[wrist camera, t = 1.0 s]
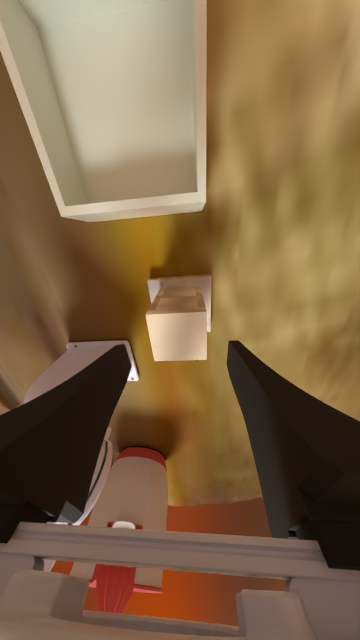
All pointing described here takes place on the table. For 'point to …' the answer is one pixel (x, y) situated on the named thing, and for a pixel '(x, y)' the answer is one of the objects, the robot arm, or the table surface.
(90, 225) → the table surface
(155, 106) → the bin
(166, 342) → the socket block
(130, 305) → the table surface
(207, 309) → the stud plate
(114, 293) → the table surface
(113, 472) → the citrus juicer
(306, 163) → the table surface
